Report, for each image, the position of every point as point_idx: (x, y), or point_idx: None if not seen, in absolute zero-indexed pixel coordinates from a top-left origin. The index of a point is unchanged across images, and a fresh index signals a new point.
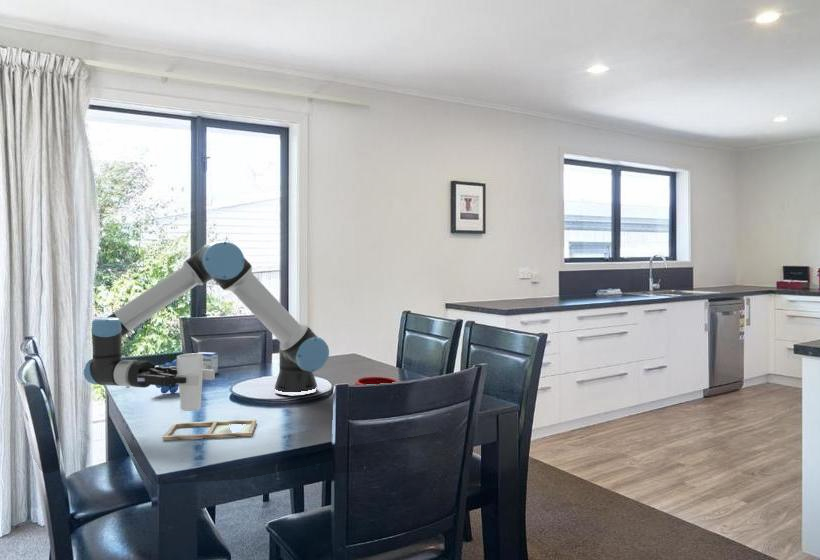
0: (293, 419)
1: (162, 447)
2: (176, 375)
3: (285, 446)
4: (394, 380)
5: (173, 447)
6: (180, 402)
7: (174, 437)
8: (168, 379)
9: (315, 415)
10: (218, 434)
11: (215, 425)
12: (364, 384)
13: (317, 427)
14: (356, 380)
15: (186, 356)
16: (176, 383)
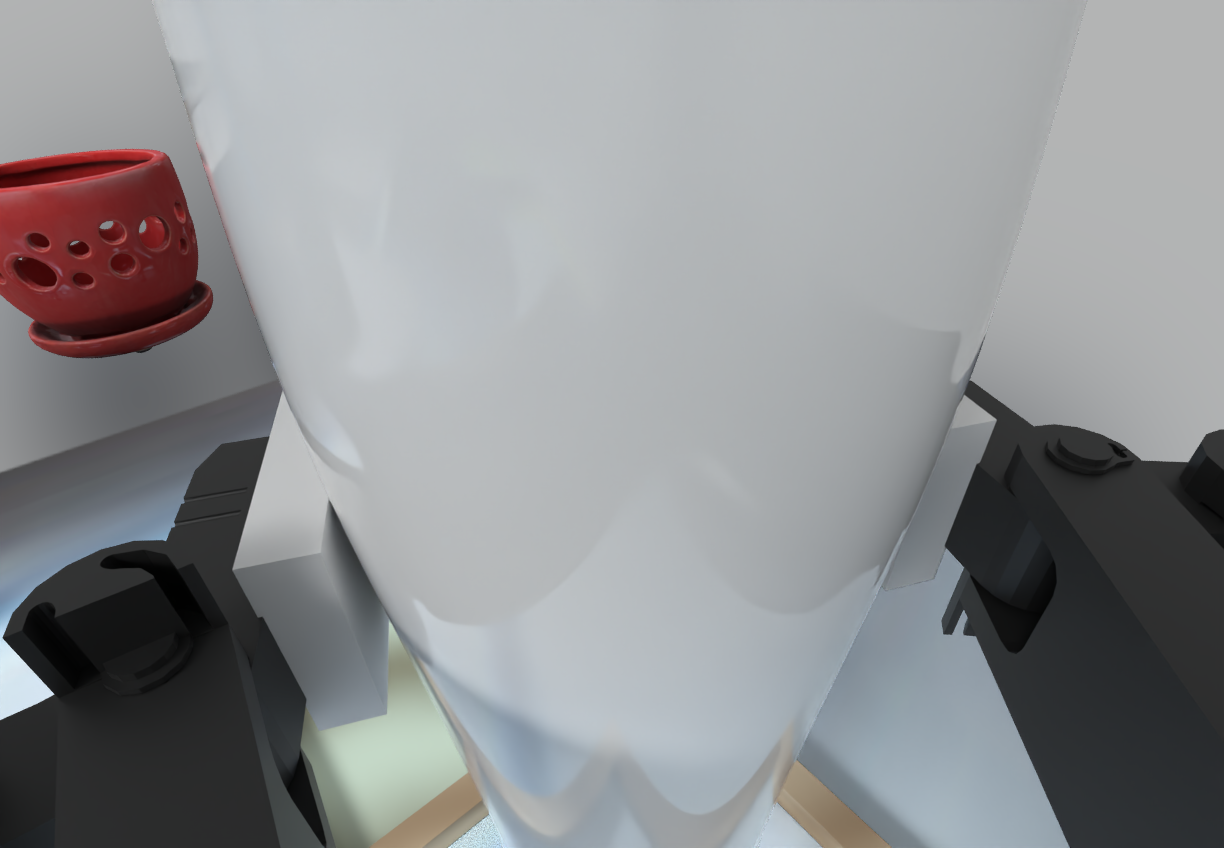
0: (121, 530)
1: (1009, 770)
2: (982, 432)
3: None
4: (25, 162)
5: (934, 700)
6: (757, 845)
7: (871, 833)
8: (1174, 477)
9: (28, 493)
10: None
11: (434, 801)
12: (141, 164)
13: (276, 398)
14: (41, 185)
15: (385, 82)
16: (936, 564)
